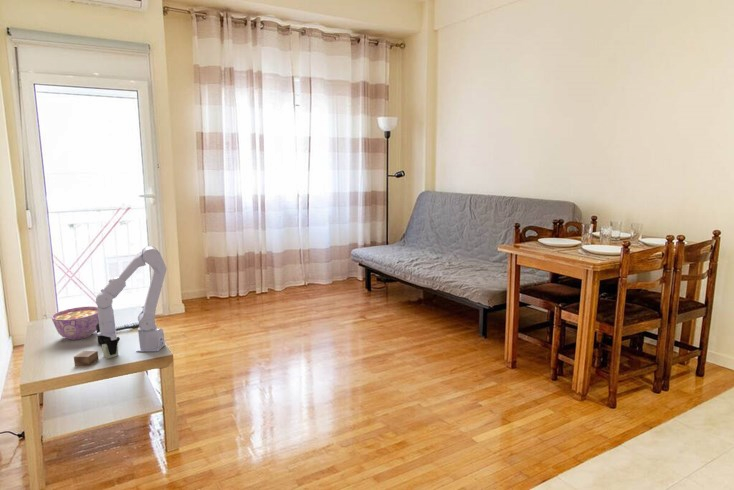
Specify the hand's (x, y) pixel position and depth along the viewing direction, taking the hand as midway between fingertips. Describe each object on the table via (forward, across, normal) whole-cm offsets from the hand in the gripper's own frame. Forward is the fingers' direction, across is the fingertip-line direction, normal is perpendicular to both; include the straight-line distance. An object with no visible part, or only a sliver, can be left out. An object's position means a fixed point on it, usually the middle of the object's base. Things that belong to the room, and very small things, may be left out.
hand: (110, 352), depth 201 cm
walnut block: (+2, +1, -9) cm, 9 cm away
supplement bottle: (+2, -18, +4) cm, 18 cm away
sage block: (+2, 0, 0) cm, 2 cm away
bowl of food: (+2, -35, -3) cm, 36 cm away
